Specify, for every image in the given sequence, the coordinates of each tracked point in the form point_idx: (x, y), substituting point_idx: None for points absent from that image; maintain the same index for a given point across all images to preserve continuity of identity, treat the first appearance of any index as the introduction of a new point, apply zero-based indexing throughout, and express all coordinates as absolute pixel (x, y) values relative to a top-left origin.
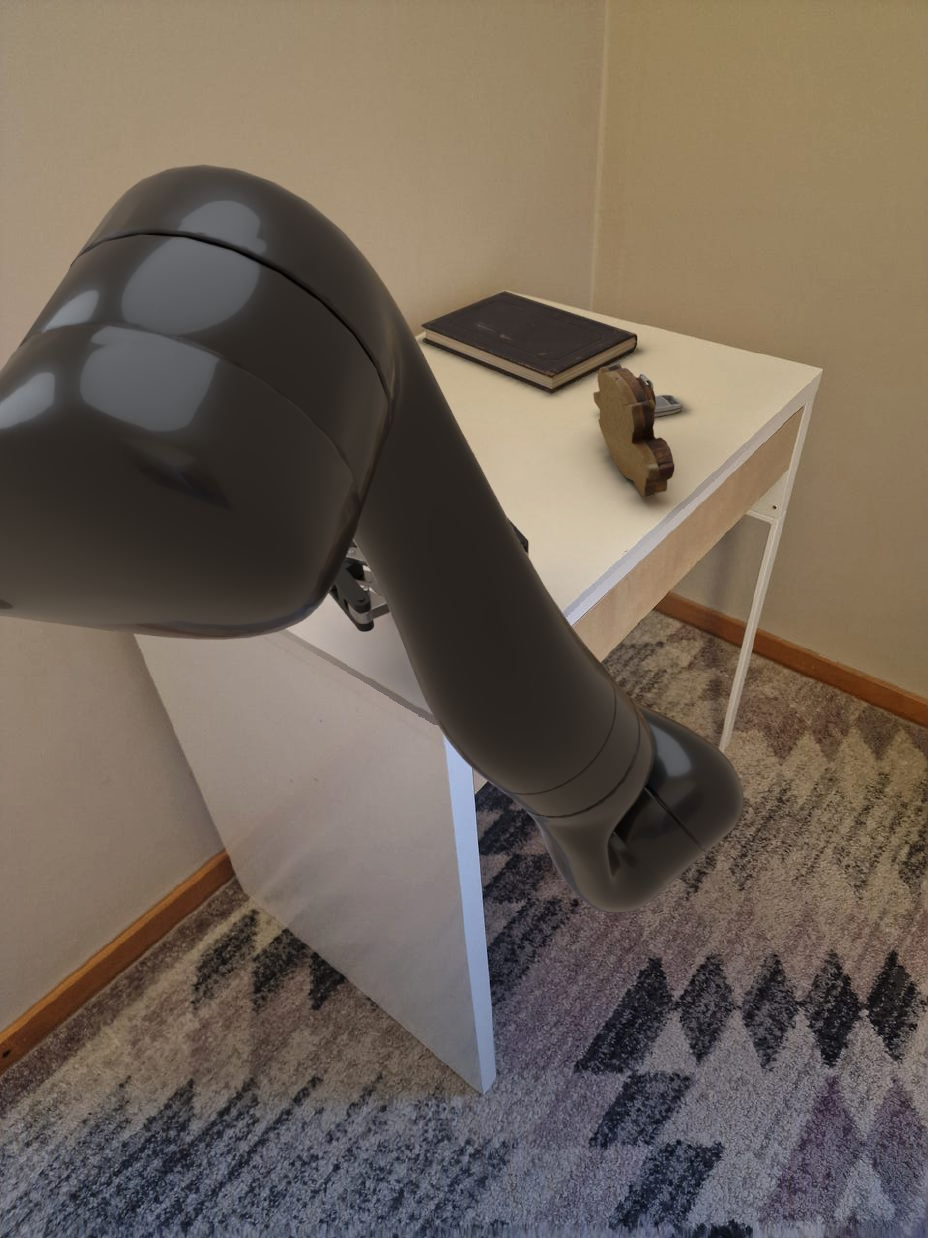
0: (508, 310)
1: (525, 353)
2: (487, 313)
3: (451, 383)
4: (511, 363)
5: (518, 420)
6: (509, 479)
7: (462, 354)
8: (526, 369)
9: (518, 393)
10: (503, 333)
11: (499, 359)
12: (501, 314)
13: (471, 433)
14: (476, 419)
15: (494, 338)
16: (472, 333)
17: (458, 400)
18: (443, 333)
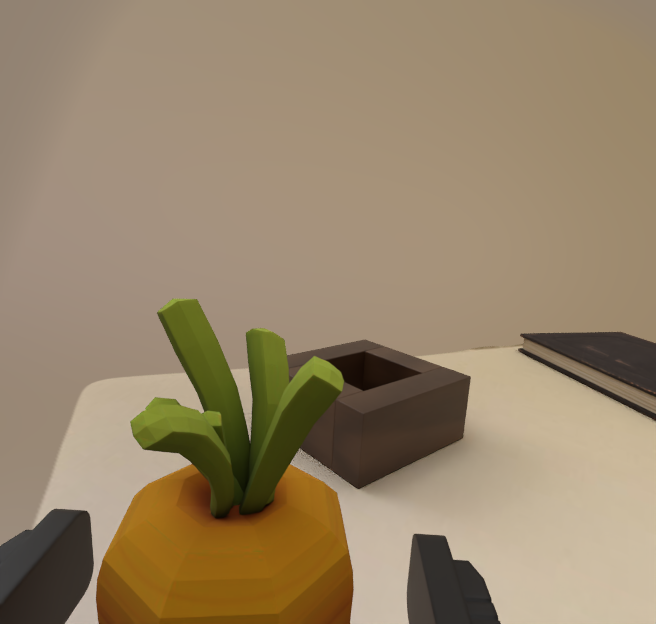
0: (626, 345)
1: (653, 382)
2: (599, 342)
3: (541, 390)
4: (630, 388)
5: (640, 458)
6: (624, 552)
7: (561, 369)
8: (654, 399)
9: (638, 425)
10: (620, 359)
11: (612, 381)
12: (617, 346)
13: (558, 451)
14: (569, 436)
15: (607, 360)
16: (579, 351)
17: (546, 408)
18: (543, 344)
